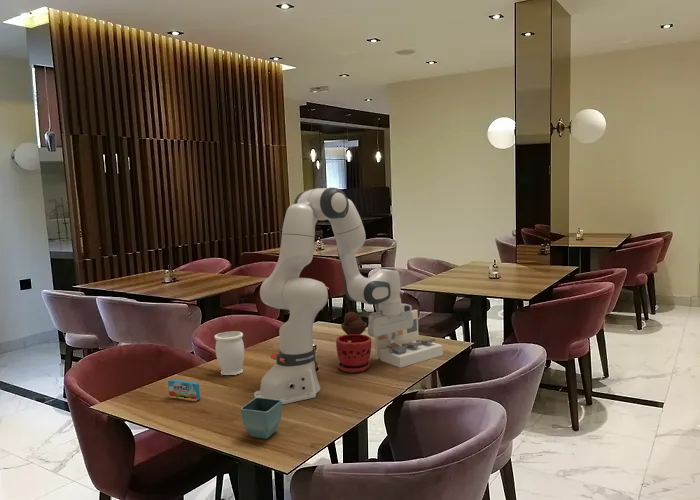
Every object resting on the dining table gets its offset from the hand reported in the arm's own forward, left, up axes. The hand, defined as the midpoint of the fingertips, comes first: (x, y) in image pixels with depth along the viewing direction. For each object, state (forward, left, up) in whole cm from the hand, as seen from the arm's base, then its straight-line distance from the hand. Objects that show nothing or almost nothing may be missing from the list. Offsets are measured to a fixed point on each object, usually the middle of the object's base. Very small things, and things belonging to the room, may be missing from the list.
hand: (391, 343), depth 217 cm
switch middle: (+7, -3, -1) cm, 8 cm away
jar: (-54, +31, -7) cm, 62 cm away
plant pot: (-17, +2, -7) cm, 18 cm away
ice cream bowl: (+1, +27, -7) cm, 28 cm away
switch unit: (+7, -2, -7) cm, 10 cm away
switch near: (0, -3, -1) cm, 3 cm away
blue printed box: (-77, +17, -7) cm, 79 cm away
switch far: (+15, -3, -1) cm, 15 cm away
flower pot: (-69, -26, -7) cm, 74 cm away
